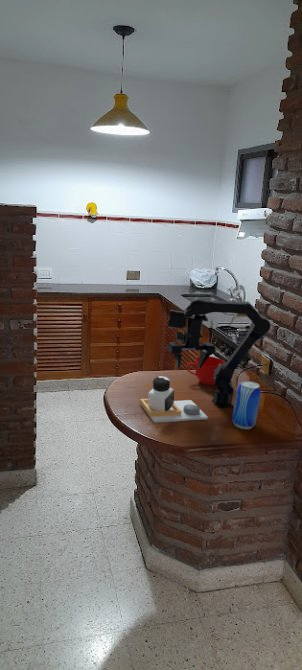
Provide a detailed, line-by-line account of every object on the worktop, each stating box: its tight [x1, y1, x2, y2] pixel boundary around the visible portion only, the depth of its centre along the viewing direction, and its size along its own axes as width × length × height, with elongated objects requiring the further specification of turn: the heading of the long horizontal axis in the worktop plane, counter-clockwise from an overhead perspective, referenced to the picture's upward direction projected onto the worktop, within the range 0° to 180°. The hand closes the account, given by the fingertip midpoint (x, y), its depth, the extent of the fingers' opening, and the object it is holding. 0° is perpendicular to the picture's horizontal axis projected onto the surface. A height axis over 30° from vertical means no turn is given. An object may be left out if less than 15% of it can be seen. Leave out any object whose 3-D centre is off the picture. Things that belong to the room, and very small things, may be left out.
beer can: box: [231, 380, 262, 430], centre depth 177 cm, size 8×8×16 cm
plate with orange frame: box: [139, 398, 209, 424], centre depth 183 cm, size 22×15×2 cm
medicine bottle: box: [147, 375, 175, 411], centre depth 180 cm, size 7×7×12 cm
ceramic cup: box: [186, 355, 226, 386], centre depth 215 cm, size 13×17×10 cm
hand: (188, 368), depth 192 cm, fingers open, 9 cm apart
